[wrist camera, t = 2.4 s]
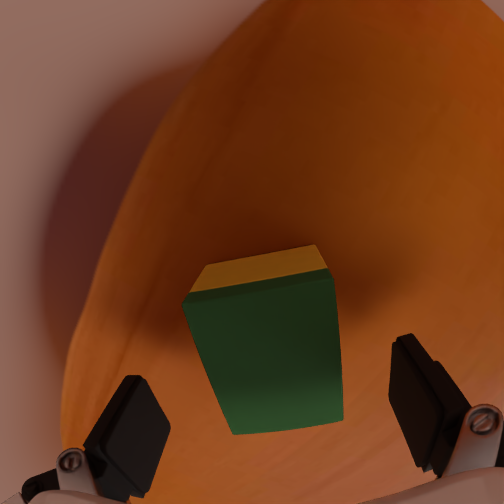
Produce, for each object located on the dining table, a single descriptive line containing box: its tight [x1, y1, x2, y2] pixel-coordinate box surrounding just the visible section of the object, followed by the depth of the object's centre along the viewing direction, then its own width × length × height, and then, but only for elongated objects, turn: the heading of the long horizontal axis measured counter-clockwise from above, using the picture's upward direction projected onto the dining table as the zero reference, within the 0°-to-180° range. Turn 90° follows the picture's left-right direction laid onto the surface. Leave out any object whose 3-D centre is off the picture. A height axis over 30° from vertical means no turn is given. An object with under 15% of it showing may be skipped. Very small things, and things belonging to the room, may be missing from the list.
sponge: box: [182, 245, 344, 435], centre depth 12 cm, size 7×5×4 cm
